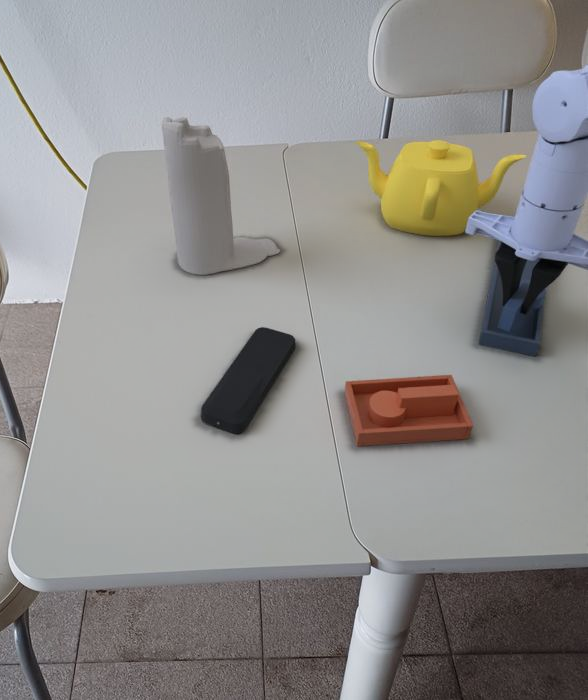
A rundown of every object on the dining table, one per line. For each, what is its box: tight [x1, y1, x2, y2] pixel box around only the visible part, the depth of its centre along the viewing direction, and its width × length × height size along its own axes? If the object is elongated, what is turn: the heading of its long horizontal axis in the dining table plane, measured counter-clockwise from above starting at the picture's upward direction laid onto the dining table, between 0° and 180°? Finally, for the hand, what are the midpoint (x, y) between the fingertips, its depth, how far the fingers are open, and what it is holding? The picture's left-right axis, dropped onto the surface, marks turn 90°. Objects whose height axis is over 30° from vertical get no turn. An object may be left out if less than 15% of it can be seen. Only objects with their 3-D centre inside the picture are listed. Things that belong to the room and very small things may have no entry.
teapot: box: [355, 139, 527, 237], centre depth 88 cm, size 22×16×11 cm
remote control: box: [200, 326, 297, 434], centre depth 69 cm, size 5×2×15 cm
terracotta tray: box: [344, 374, 474, 447], centre depth 65 cm, size 11×7×2 cm, turn 93°
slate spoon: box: [498, 280, 547, 332], centre depth 73 cm, size 8×4×3 cm, turn 141°
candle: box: [161, 116, 281, 276], centre depth 81 cm, size 7×14×20 cm, turn 106°
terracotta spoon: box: [368, 385, 460, 428], centre depth 64 cm, size 8×4×3 cm, turn 93°
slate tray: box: [478, 240, 545, 357], centre depth 79 cm, size 25×6×2 cm, turn 158°
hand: (517, 305), depth 72 cm, fingers closed on slate spoon
